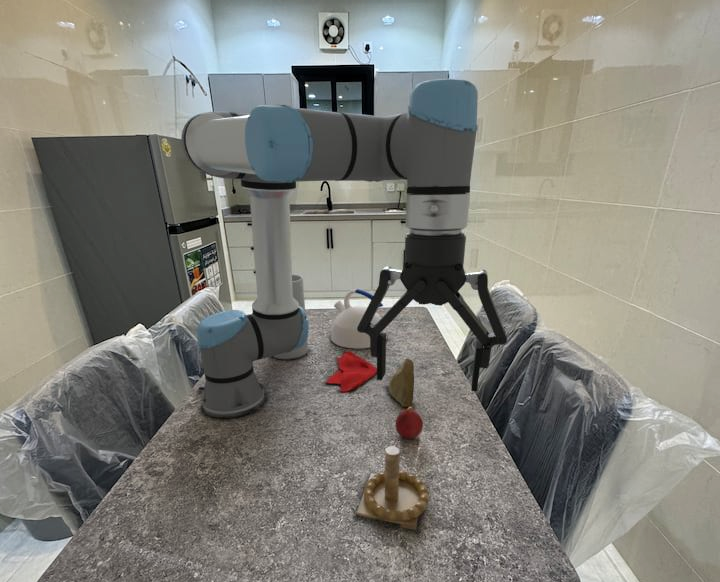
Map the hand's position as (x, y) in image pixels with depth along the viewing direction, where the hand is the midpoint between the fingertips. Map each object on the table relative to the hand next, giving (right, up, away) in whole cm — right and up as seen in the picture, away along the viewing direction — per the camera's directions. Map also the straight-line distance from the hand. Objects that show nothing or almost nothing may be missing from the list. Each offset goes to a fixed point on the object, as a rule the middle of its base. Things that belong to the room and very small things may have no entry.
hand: (426, 381), depth 56 cm
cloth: (-12, -1, +59) cm, 60 cm away
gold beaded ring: (-3, -20, +10) cm, 23 cm away
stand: (-4, -22, +11) cm, 25 cm away
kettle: (-10, +9, +83) cm, 84 cm away
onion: (+1, -15, +28) cm, 32 cm away
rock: (+1, -8, +44) cm, 45 cm away
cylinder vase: (-33, +4, +72) cm, 80 cm away
